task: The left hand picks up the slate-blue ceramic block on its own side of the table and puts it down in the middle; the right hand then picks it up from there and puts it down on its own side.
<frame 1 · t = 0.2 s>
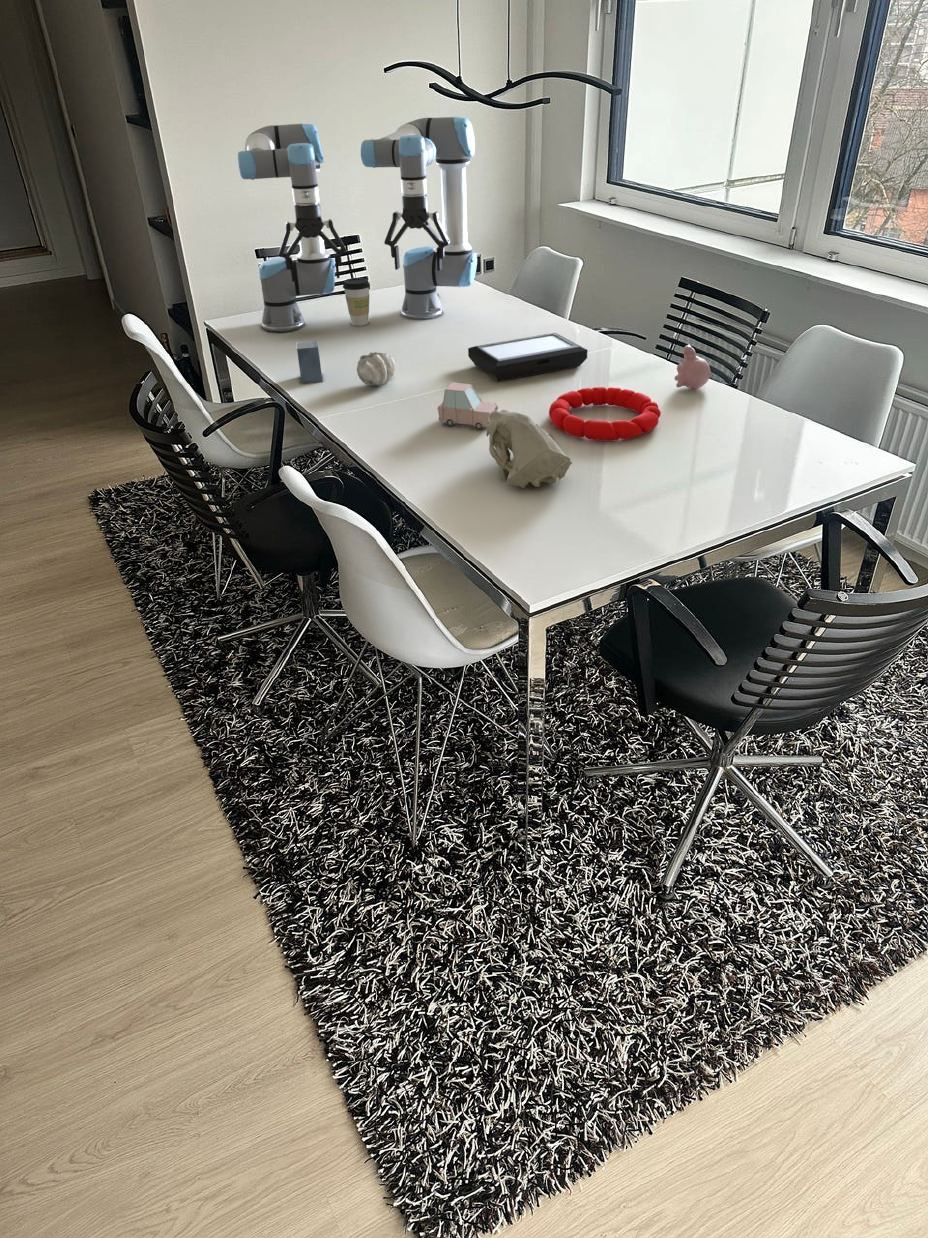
left hand: (315, 278, 272), 28 cm above the table, tool pointing down, fingers open, 13 cm apart
right hand: (418, 269, 277), 28 cm above the table, tool pointing down, fingers open, 13 cm apart
decorative ring: (603, 422, 244), on the table
toy car: (468, 423, 246), on the table
coffee cup: (360, 323, 327), on the table
block: (311, 378, 279), on the table
electronic device: (527, 366, 283), on the table
figurine: (690, 388, 263), on the table
seashell: (378, 385, 273), on the table
animal skull: (520, 470, 220), on the table
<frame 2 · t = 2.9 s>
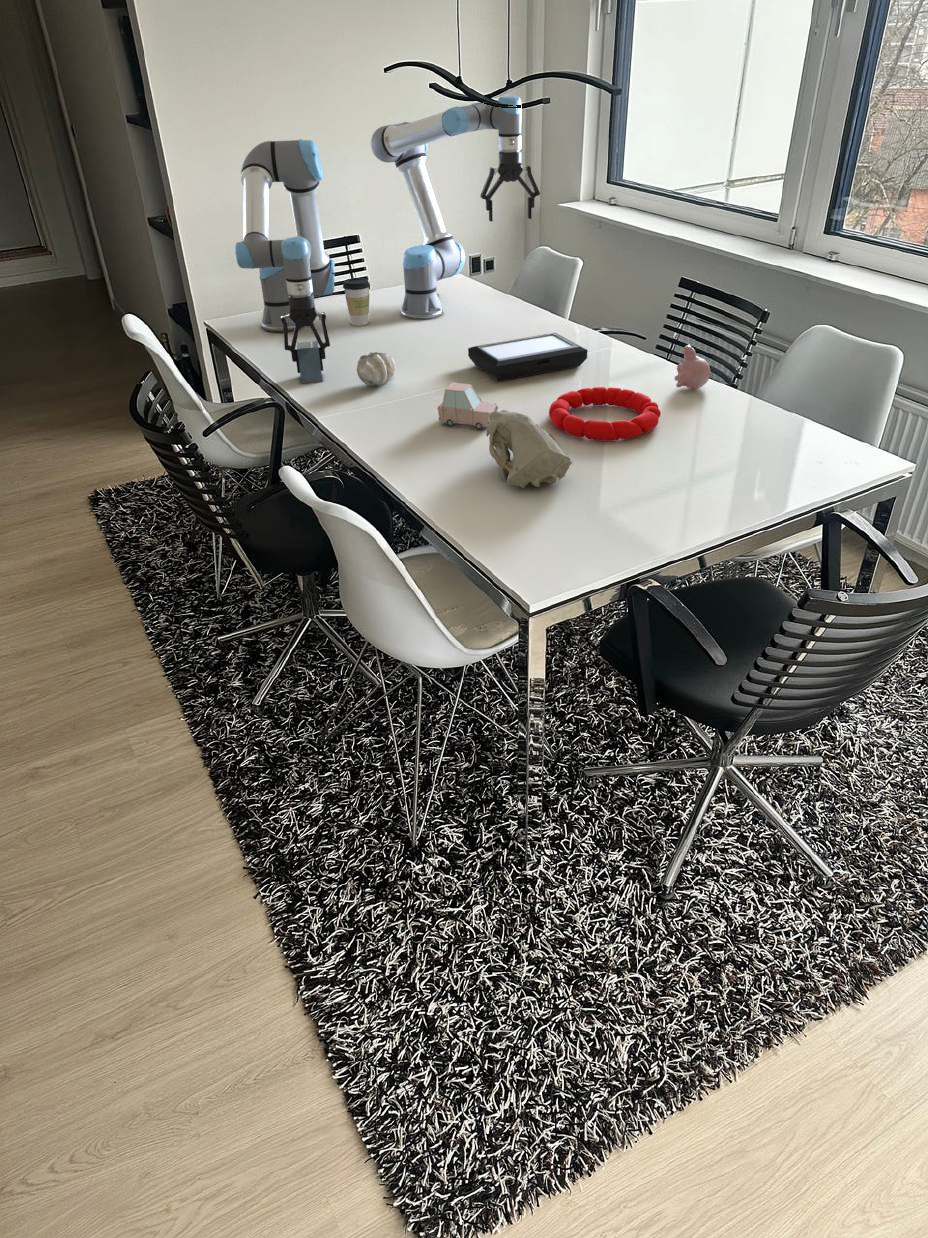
left hand: (310, 370, 278), 3 cm above the table, tool pointing down, fingers closed on block, 6 cm apart
right hand: (510, 219, 307), 34 cm above the table, tool pointing down, fingers open, 13 cm apart
block: (311, 378, 279), on the table, touching left hand
everything else where it was.
when the left hand's fingers open (4 cm above the table, at t = 10.0 s): block drops 1 cm, on the table.
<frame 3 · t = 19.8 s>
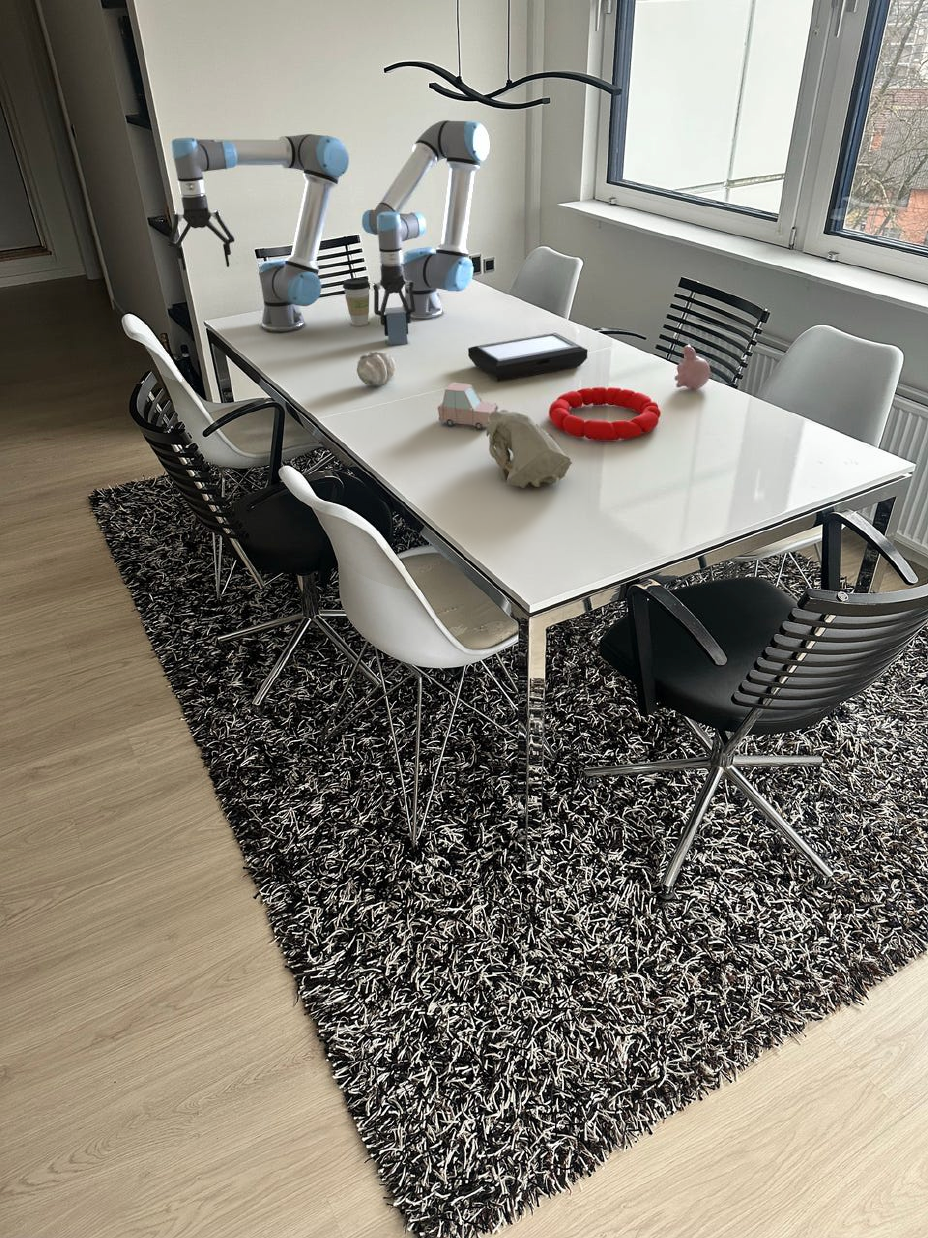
left hand: (206, 267, 285), 28 cm above the table, tool pointing down, fingers open, 13 cm apart
right hand: (396, 333, 306), 3 cm above the table, tool pointing down, fingers closed on block, 6 cm apart
block: (396, 341, 308), on the table, touching right hand
everything else where it was.
when the right hand's fingers open (4 cm above the table, at t = 25.5 s): block drops 1 cm, on the table.
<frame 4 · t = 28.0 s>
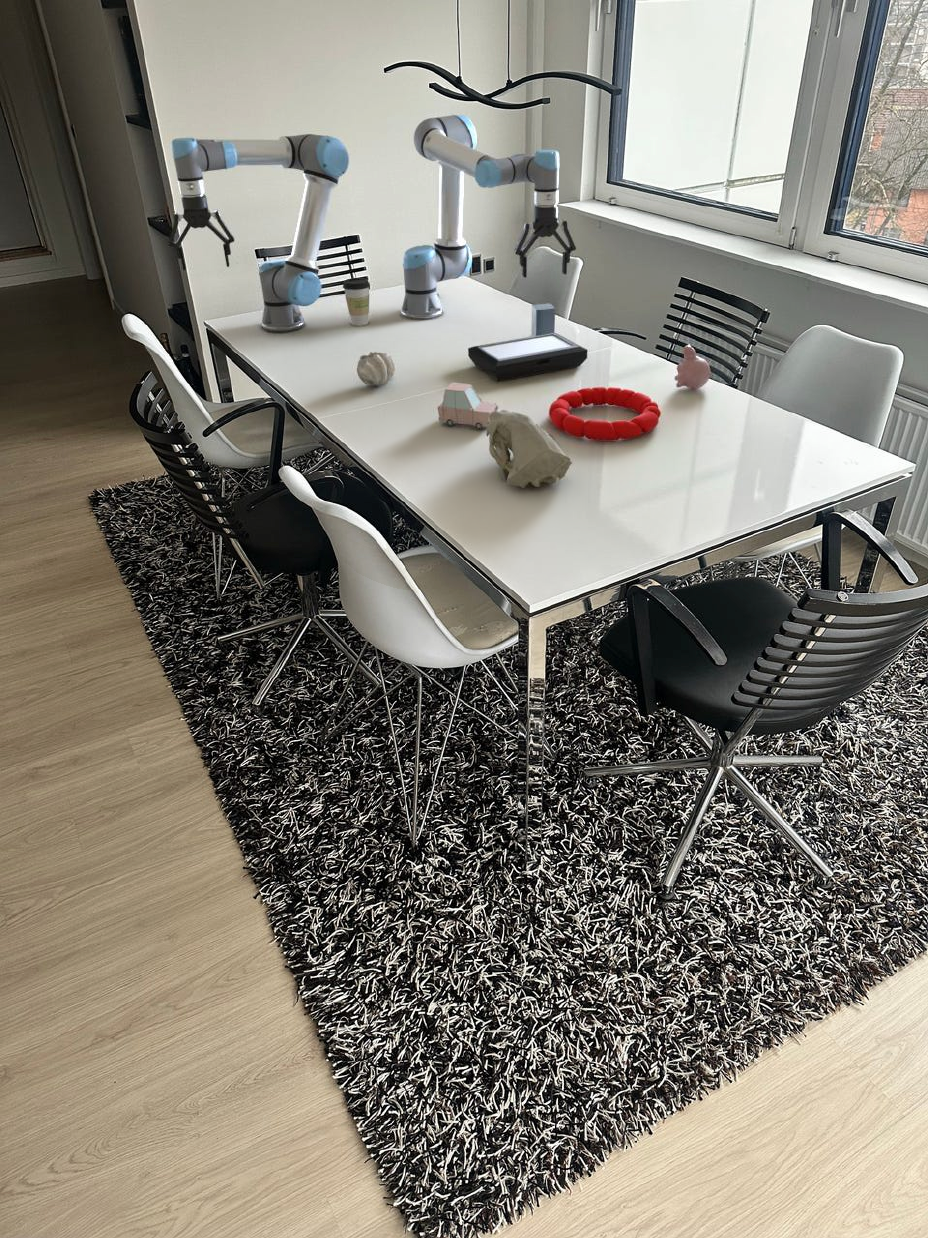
left hand: (206, 267, 285), 28 cm above the table, tool pointing down, fingers open, 13 cm apart
right hand: (544, 274, 294), 21 cm above the table, tool pointing down, fingers open, 13 cm apart
block: (542, 338, 306), on the table
everything else where it was.
at the end: block inside the target area (0.1 cm from its centre), on the table; block tilted 0°; the two hands never held the block at the same time; the left hand is holding nothing; the right hand is holding nothing; block at rest at the end (0.0 cm/s) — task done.
